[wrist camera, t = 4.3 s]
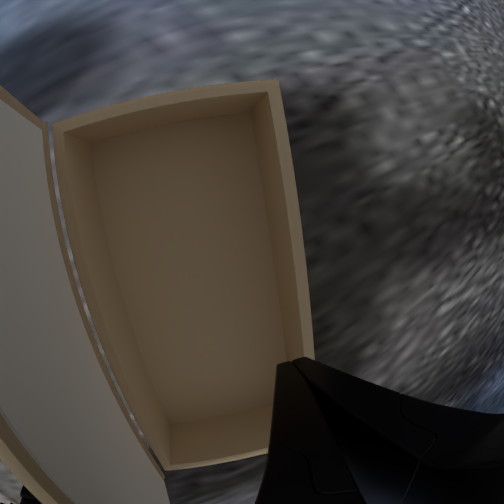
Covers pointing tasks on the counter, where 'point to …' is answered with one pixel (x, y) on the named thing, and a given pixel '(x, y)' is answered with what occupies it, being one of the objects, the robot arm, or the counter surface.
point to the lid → (55, 348)
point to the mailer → (190, 260)
